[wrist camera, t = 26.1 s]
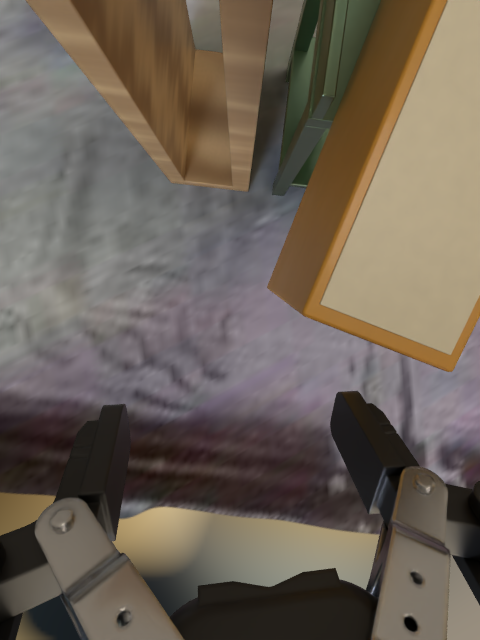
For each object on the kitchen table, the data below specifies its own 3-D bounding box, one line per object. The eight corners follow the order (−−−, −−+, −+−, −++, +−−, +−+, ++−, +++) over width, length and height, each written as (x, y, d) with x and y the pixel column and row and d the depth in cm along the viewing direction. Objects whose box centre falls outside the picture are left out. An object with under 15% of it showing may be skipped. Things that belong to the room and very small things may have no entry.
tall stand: (248, 191, 37) (301, -217, 6) (171, 182, 37) (-209, -289, 6) (261, 66, 36) (446, -1505, 4) (181, 56, 36) (-287, -1661, 4)
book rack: (357, 204, 38) (521, 119, 16) (272, 194, 37) (318, 95, 16) (376, 80, 36) (589, -206, 14) (287, 69, 36) (362, -239, 14)
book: (334, 314, 20) (454, 375, 9) (266, 287, 19) (301, 315, 8) (513, -103, 17) (1026, -792, 6) (436, -140, 17) (816, -925, 6)
